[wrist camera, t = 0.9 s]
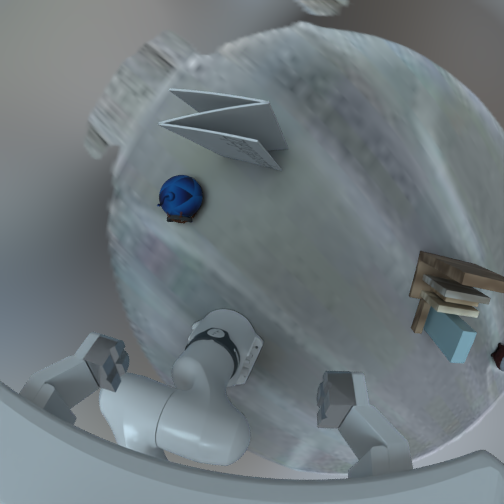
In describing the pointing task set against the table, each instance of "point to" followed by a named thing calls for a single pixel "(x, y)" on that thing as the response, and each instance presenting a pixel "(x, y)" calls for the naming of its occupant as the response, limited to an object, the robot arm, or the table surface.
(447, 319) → the light blue tall block
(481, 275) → the offcut rack
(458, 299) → the offcut stack
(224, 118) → the brochure
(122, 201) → the table surface
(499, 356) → the mate gourd
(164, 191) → the bomb
